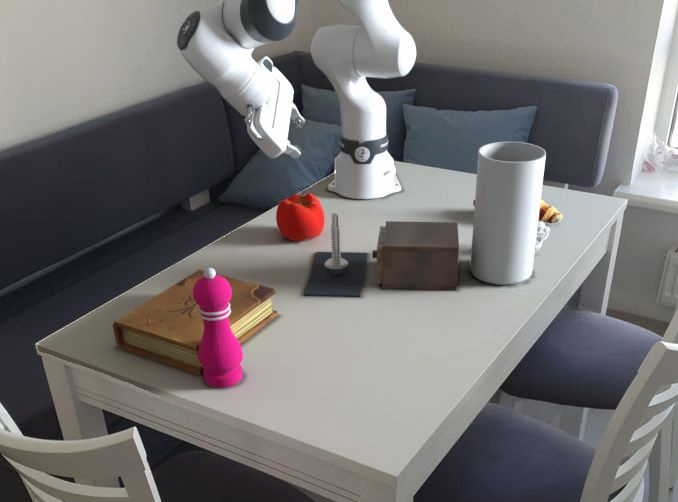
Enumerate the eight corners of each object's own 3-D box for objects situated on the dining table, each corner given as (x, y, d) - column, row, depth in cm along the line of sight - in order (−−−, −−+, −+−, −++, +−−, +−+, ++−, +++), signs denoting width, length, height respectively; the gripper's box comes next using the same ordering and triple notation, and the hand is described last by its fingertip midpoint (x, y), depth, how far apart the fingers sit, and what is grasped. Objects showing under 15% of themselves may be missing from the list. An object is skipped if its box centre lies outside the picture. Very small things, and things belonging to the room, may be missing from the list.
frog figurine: (545, 259, 168) (549, 228, 164) (511, 256, 170) (514, 225, 166) (548, 248, 173) (552, 218, 169) (516, 244, 175) (519, 214, 171)
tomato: (300, 250, 175) (297, 211, 170) (267, 235, 182) (264, 197, 177) (337, 237, 180) (335, 198, 175) (304, 222, 188) (301, 185, 183)
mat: (316, 253, 173) (316, 251, 173) (367, 253, 172) (367, 252, 172) (304, 295, 157) (304, 294, 157) (360, 296, 156) (360, 295, 156)
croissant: (561, 233, 188) (568, 199, 187) (557, 228, 178) (565, 192, 177) (474, 220, 194) (480, 187, 193) (465, 215, 185) (472, 180, 184)
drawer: (370, 283, 159) (370, 249, 155) (374, 258, 168) (374, 226, 164) (445, 284, 158) (446, 250, 154) (444, 260, 167) (446, 227, 163)
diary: (199, 295, 158) (196, 268, 155) (277, 316, 150) (275, 288, 147) (117, 347, 142) (111, 319, 138) (199, 375, 134) (195, 345, 130)
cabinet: (382, 288, 159) (382, 246, 154) (385, 261, 169) (386, 221, 164) (456, 290, 157) (459, 247, 152) (455, 262, 168) (457, 222, 163)
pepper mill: (210, 394, 129) (193, 282, 118) (195, 373, 134) (179, 264, 123) (251, 382, 131) (239, 271, 120) (236, 361, 137) (223, 254, 126)
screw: (322, 269, 166) (344, 266, 167) (328, 279, 162) (351, 275, 163) (319, 210, 159) (342, 206, 160) (326, 218, 155) (350, 215, 156)
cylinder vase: (458, 266, 166) (466, 147, 152) (510, 255, 170) (521, 138, 156) (490, 291, 157) (501, 166, 143) (544, 279, 161) (559, 156, 147)
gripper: (256, 116, 141) (308, 166, 150) (268, 50, 153) (315, 100, 162) (231, 134, 144) (284, 182, 153) (245, 69, 156) (292, 116, 165)
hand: (300, 140), depth 157 cm, fingers open, 8 cm apart
